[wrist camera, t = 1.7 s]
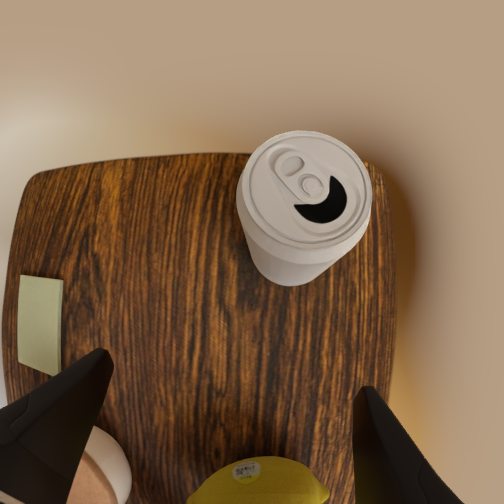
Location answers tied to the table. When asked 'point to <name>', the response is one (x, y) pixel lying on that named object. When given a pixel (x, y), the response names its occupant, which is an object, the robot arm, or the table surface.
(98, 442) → the trinket box
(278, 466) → the lemon
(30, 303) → the mat
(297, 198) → the beverage can
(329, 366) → the table surface
